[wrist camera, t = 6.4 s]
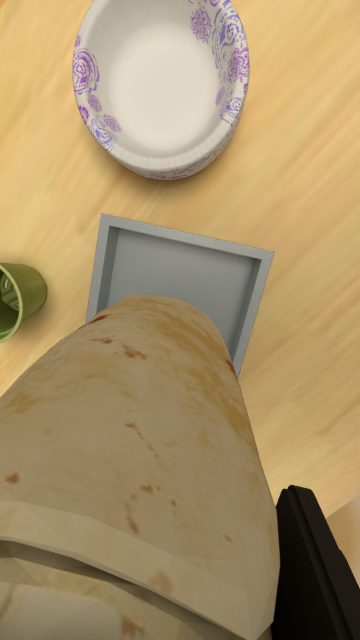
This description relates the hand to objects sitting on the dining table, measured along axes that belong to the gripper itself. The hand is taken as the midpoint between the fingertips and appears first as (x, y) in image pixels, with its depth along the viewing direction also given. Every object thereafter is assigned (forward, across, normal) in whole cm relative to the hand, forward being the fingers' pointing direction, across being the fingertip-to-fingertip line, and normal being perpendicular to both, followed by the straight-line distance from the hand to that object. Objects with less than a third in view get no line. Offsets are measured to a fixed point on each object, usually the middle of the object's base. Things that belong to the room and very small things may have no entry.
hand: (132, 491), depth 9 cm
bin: (+31, +1, +1) cm, 31 cm away
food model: (+15, 0, 0) cm, 15 cm away
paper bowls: (+31, +6, -20) cm, 37 cm away
